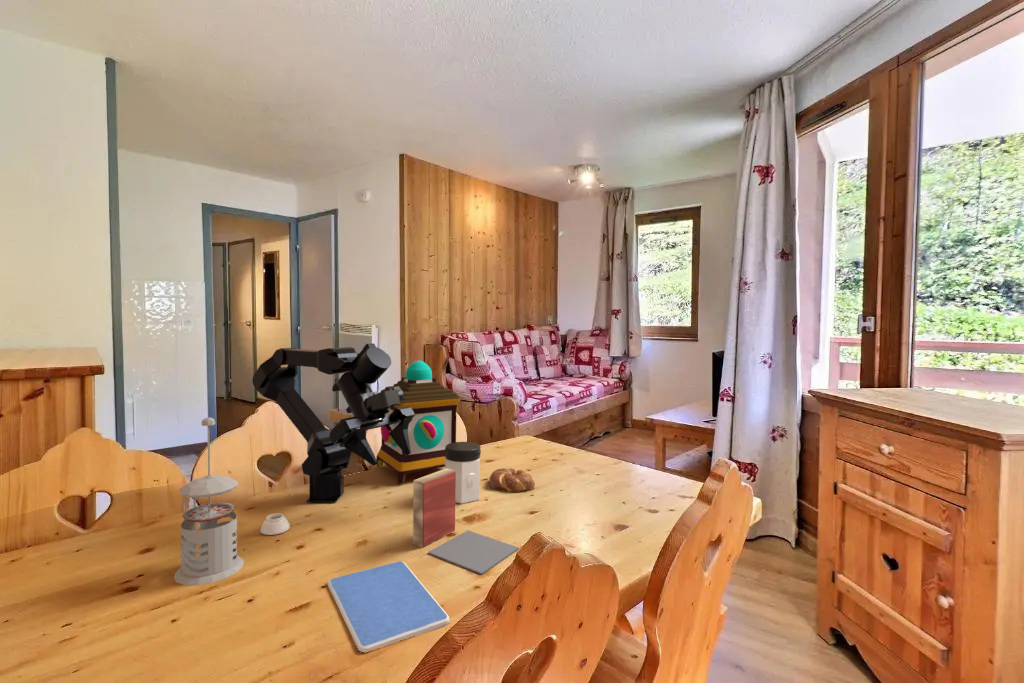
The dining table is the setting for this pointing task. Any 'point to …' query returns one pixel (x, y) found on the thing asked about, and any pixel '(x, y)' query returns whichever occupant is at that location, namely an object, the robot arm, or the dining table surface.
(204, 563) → the french press
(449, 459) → the jar
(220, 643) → the dining table surface
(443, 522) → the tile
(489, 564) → the mat
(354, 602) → the tablet computer
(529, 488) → the pretzel
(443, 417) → the decorative lantern
